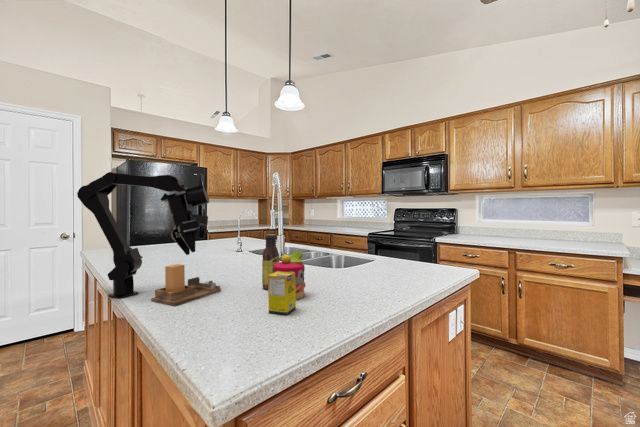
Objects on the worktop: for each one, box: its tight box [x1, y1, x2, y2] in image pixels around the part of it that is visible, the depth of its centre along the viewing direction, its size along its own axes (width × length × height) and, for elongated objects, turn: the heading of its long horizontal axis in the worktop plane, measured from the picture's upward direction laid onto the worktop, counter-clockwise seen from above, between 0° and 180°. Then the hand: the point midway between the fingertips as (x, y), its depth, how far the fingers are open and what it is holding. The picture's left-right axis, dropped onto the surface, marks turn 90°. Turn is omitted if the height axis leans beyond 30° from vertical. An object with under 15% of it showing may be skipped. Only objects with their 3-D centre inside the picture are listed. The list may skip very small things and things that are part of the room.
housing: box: [150, 276, 222, 307], centre depth 103 cm, size 12×18×4 cm, turn 153°
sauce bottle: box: [261, 233, 280, 290], centre depth 112 cm, size 7×6×20 cm
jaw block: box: [164, 263, 186, 292], centre depth 99 cm, size 4×4×10 cm
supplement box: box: [267, 271, 297, 316], centre depth 87 cm, size 6×6×11 cm
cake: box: [274, 250, 306, 301], centre depth 101 cm, size 10×11×15 cm
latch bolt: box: [201, 280, 217, 290], centre depth 107 cm, size 4×2×3 cm, turn 63°
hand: (190, 253), depth 105 cm, fingers open, 9 cm apart
